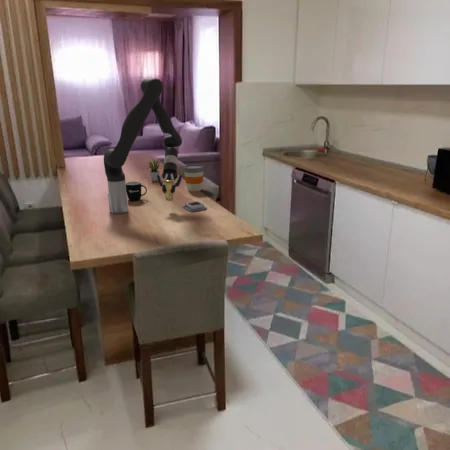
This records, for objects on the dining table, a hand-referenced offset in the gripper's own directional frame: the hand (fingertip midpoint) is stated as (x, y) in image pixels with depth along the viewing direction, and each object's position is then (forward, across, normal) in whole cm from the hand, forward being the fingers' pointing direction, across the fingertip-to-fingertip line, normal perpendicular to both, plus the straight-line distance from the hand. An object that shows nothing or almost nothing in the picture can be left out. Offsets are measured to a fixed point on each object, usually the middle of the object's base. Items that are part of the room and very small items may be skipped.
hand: (168, 192), depth 229 cm
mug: (-10, -22, +26) cm, 36 cm away
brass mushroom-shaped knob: (+2, 0, +5) cm, 5 cm away
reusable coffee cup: (-27, +10, +41) cm, 50 cm away
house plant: (-47, -18, +62) cm, 81 cm away
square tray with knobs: (+3, +13, +12) cm, 18 cm away
